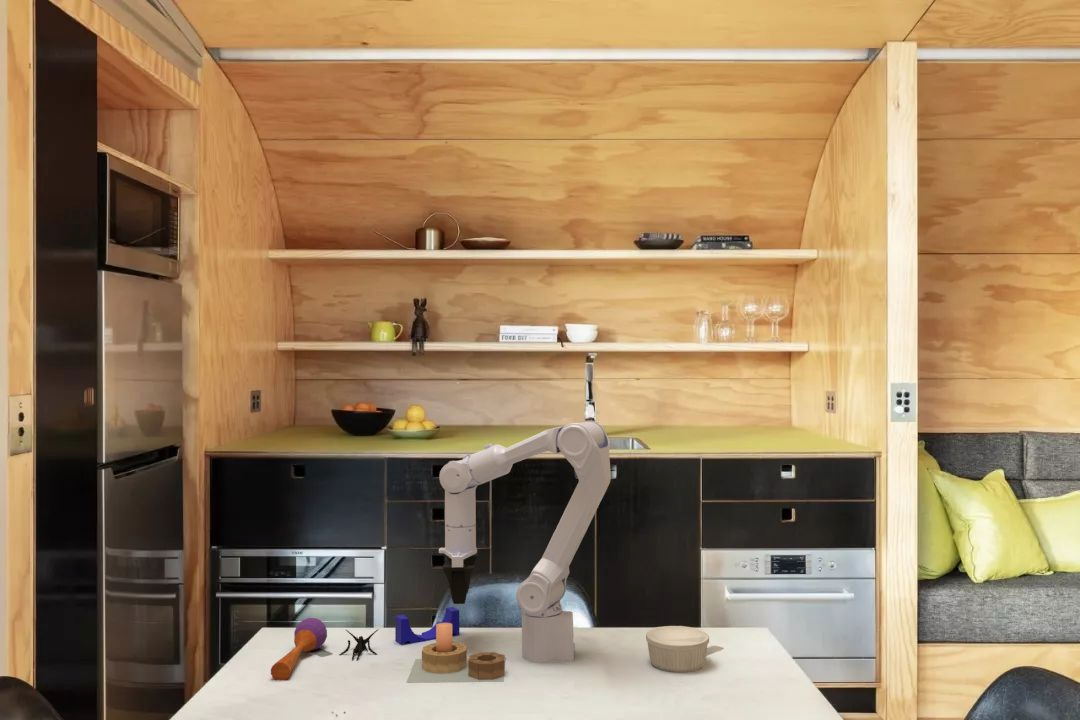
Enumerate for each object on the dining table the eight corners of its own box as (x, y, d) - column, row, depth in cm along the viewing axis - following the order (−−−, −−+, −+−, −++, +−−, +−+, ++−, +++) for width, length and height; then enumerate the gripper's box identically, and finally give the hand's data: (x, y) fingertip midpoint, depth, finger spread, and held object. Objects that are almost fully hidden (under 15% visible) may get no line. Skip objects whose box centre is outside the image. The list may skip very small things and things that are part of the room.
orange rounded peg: (452, 663, 154) (452, 622, 154) (451, 667, 151) (452, 626, 151) (436, 663, 153) (436, 622, 154) (435, 668, 151) (435, 626, 151)
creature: (377, 673, 155) (384, 649, 163) (375, 645, 154) (383, 622, 162) (332, 673, 155) (342, 649, 163) (331, 645, 154) (340, 622, 162)
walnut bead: (504, 667, 151) (504, 652, 151) (503, 679, 145) (503, 663, 145) (470, 667, 151) (470, 652, 151) (467, 679, 145) (467, 663, 145)
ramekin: (681, 680, 148) (681, 648, 148) (632, 663, 156) (632, 634, 156) (722, 665, 155) (722, 635, 155) (673, 650, 163) (673, 621, 164)
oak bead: (467, 658, 156) (467, 641, 156) (464, 673, 148) (464, 655, 148) (425, 659, 156) (425, 642, 156) (419, 673, 148) (419, 655, 148)
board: (505, 663, 156) (505, 657, 156) (503, 687, 144) (503, 681, 144) (415, 664, 156) (415, 658, 156) (406, 688, 144) (406, 682, 144)
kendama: (259, 658, 148) (297, 616, 168) (267, 691, 149) (303, 646, 169) (293, 651, 148) (327, 610, 168) (301, 685, 148) (333, 640, 168)
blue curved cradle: (449, 635, 174) (449, 605, 174) (459, 641, 170) (459, 610, 170) (392, 645, 168) (392, 614, 168) (401, 651, 164) (401, 619, 164)
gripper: (442, 518, 171) (443, 588, 170) (434, 532, 156) (435, 608, 156) (479, 518, 171) (479, 588, 171) (474, 531, 156) (474, 608, 156)
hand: (460, 598), depth 163 cm, fingers open, 7 cm apart
